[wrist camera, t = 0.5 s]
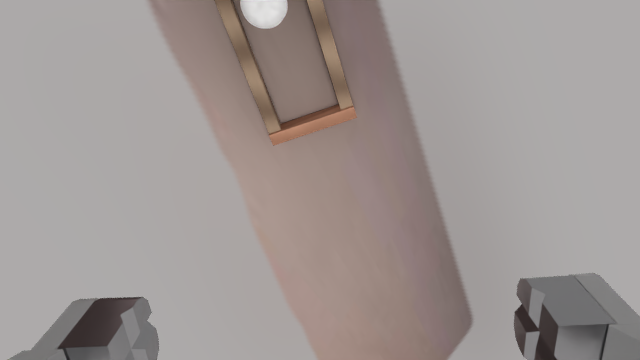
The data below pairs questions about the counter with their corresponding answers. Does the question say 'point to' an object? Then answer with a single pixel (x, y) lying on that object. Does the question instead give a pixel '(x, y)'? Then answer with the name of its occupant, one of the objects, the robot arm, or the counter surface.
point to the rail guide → (258, 87)
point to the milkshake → (264, 12)
